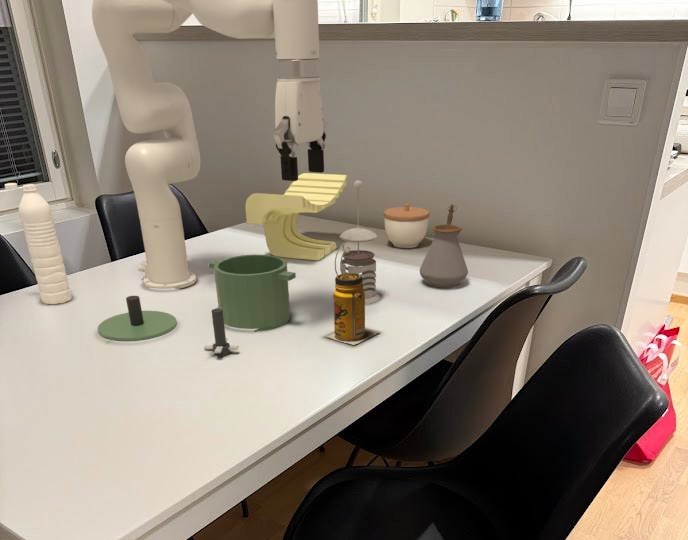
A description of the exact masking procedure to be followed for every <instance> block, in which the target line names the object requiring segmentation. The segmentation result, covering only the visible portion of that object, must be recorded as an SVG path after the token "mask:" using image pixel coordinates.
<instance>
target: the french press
mask: <svg viewBox="0 0 688 540" xmlns="http://www.w3.org/2000/svg"><path fill="white" fill-rule="evenodd" d="M363 186H364V183H363V182H362V181H361V180H359V179H357V180H355V181H354V182H353V187H354V188H357V227H354V228H350V229H347V230H345V231H344V232H342V233H341V234H340V235H339V238H340V240H341V241H344V242H347V243H357V249H356V250H355V249H353V250H351V247H350V246H347V247H346V248H345V245H341V246H340V247H338V248H337V251H336V254H335V258H334V272H335V274H336V276H338V275H339V273H338V270H337V264H336V263H337V258H338V254H339V252H340V250H341V249H342V251H343V252H342V254H341V257H340V262H339V270H340V274H346V273H354V274H358V275H361V276H362V279H363V282H362V283H363V290H364V291H365V305H370V304H374V303H376V302H377V301H379V300H380V298H381V296H380V294H379V293H378V292H377V291H376V289H377V285H376V284H377V280H376V278H377V274H376V272H377V261H376V259H374V257H375V256H376V255H375V253H374V252H373V251H370V250H364V249H360V243H367V242H371V241H374V240H376V238H377V237H378V235H377V234H376V233H375V231H372V230H371V229H368V228H364V227H360V224H359V223H360V206H359V205H360V200H359V199H360V196H359V195H360V193H359V192H360V189H359V188H362V187H363ZM346 265H347V266H346Z"/></svg>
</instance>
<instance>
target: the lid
mask: <svg viewBox="0 0 688 540" xmlns="http://www.w3.org/2000/svg"><path fill="white" fill-rule="evenodd" d="M125 301H126V304H127V305H126V307H127V311H128V312H124V313H121V314H120V313H119V314H116V315H114V316H110V317H109V318H107V319H104V320H103V321H101V322H100V323H99V324H98V326H97V332H98V334H99V335H100V337H102V338H105V339H108V340H112V341H118V342H119V341H120V342H136V341H143V340H149V339H153V338H154V339H155V338H157V337H160V336H163V335H165V334H167V333H169V332H171V331H172V330H174V329H175V328H176V327H177V324H178V322H177V318H176V317H175V316H174V315H173V314H171V313H169V312H165V311H160V310H142V305H141V304H142V303H141V298H140V296H138V295H129V296H126V297H125Z"/></svg>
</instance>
